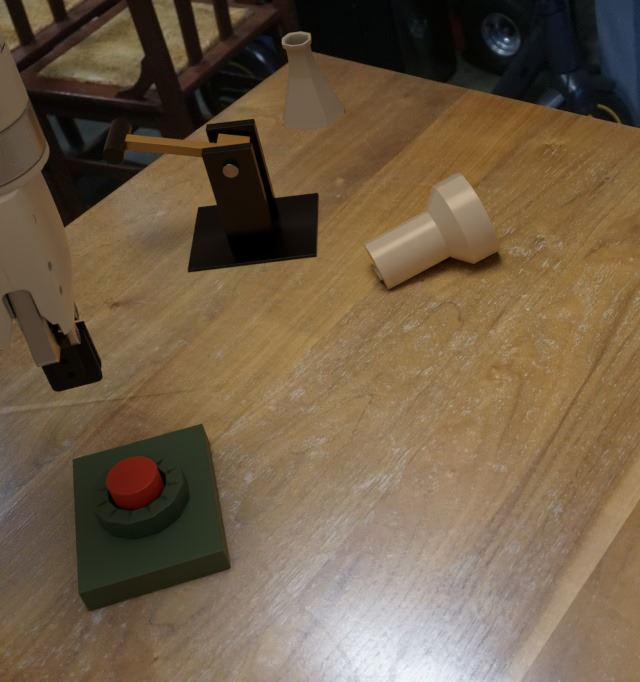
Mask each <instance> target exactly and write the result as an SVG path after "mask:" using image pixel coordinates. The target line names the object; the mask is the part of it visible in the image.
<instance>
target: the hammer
mask: <svg viewBox="0 0 640 682" xmlns="http://www.w3.org/2000/svg"><path fill="white" fill-rule="evenodd" d="M132 130H133V126H132V123H131V122H130V121H129V120H127V118H124V117H116V118H114V119H112V121H111V123H110V126H109V130H108V134H107V137H106V140H105V144H104V147H103V150H102V153H101V154H102V158H103V161H105V162H106V163H107V164H108V165H111V166H112V165H113V166H118V165H121V164H122V163H123V162H124V160H125V157H126V153H127V151H133V152H142V153H144V152H145V153H155V154H163V155H174V156H175V155H176V156H183V157H184V156H185V157H193V158H194V157H195V158H202V155H201V153H202V148H208V147H216V146H225V145H233V144H242V143H250V137H246V136H237V135H227V134H218V140H217V143H209V141H208V142H207V141H206V142H205V141H197V140H189V139H188V140H187V139H179V138H178V139H177V138H169V137H168V138H167V137H159V136H148V135H140V134H139V135H138V134H132Z"/></svg>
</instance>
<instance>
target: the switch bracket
mask: <svg viewBox="0 0 640 682" xmlns="http://www.w3.org/2000/svg"><path fill="white" fill-rule="evenodd" d="M205 133H206V137H207V141H208V143H217V140H218V134H227V135H237V136H246V137H250V143H242V144H233V145H225V146H216V147H208V148H202V153H201V155H202V157H201V158H202V161H203V165H204V168H205V171H206V174H207V177H208V181H209V184H210V187H211V191H212V193H213V197H214V201H215V203H216V204H213V205H205V206H198V207H197V210H196V212H197V213H196V217H195V222H194V229H193V236H192V241H191V247H190V253H189V259H188V265H187V273H196V272H205V271H211V270H221V269H230V268H238V267H246V266H253V265H261V264H270V263H278V262H286V261H295V260H302V259H310V258H317V257H318V232H319V230H318V228H319V227H318V226H319V197H320V195H319V192H312V193H303V194H295V195H287V196H278V197H276V195H275V192H274V188H273V183H272V180H271V176H270V172H269V169H268V166H267V161H266V158H265V154H264V149H263V146H262V142H261V139H260V135H259V131H258V127H257V124H256V120H255V118H247V119H239V120H230V121H223V122H214V123H207V124H205Z"/></svg>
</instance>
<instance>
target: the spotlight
mask: <svg viewBox="0 0 640 682" xmlns="http://www.w3.org/2000/svg"><path fill="white" fill-rule="evenodd" d="M363 247H364V250H365V253H366V254H367V257H368V258H369V259H370V262H371V264H372V266H373V268H372V269H373V271H374V273H375V274H376V276H377V277H378V279H379V280H380V281H383V283H384V285H385V286H386V288H387V289H388V290H391V289H392V288H395V287H396V286H398V285H400V284H402V283H404V282H406V281H408V280H410V279H412V278H413V277H415V276H417V275H419V274H421V273H423V272H425V271H427V270H428V269H430V268H432V267H434V266H436V265H438V264H440V263H441V262H443V261H445V260H446V259H449V258H452V259H454V260H456V261H457V260H458V261H460V262H464V263H466V264H471V265H475V264H477V263H478V262H480V261H481V262H482V260H484V259H486V258H488V257H490V256H493V254H495V253H497V252H499V251H500V250H501V245H500V241H499V238H498V234H497V231H496V229H495V227H494V225H493V223H492V220H491V217H490V216H489V213H488V211H487V209H486V207H485V205H484V203H483V202H482V200H481V199H480V198H479V196H478V194H477V193H476V191H475V190H474V188H473V187H472V185H471V183H470V182H469V181H468V180H467V179H466V178H465V176H464V174H461V173H459V172H455V173H454V174H452V175H450V176H448V177H446V178H444V179H442V180H441V181H439V182H436V183H435V184H433V185H432V186H431V188H430V192H429V195H428V198H427V202H426V206H425V209H424V211H422V212H420V213H418V214H416V215H415V216H412V217H411V218H409V219H406V220H405V221H403V222H401V223H400V224H398V225H395V226H394V227H392V228H389V229H388V230H386V231H384V232H383V233H381V234H379V235H376V236H375V237H373V238H372V239H369V240H367V241H366V242H364V243H363Z"/></svg>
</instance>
